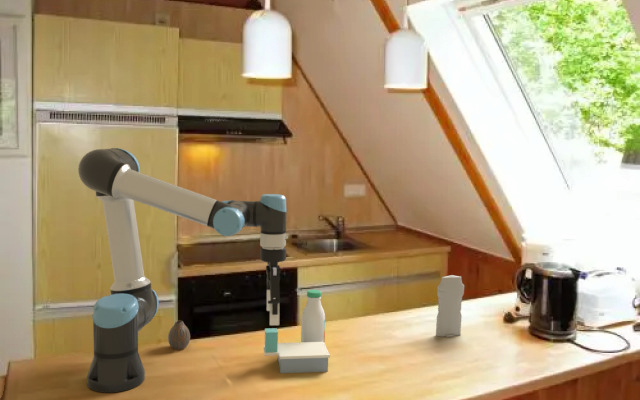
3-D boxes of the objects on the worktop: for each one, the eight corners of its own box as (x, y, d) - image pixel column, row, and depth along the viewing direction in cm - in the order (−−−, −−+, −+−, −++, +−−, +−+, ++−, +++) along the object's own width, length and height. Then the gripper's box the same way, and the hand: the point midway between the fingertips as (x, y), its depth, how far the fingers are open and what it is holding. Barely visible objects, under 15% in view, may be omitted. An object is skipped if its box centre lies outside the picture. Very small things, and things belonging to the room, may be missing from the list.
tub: (280, 375, 166) (281, 358, 165) (277, 361, 176) (278, 345, 175) (327, 373, 168) (328, 357, 167) (322, 360, 178) (322, 344, 177)
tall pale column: (458, 332, 207) (462, 273, 205) (464, 336, 204) (467, 276, 201) (432, 334, 205) (435, 274, 202) (437, 338, 201) (440, 277, 198)
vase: (190, 343, 188) (190, 317, 187) (189, 351, 182) (190, 324, 181) (168, 344, 187) (168, 318, 186) (167, 352, 180) (167, 325, 179)
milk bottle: (321, 356, 181) (323, 295, 179) (298, 353, 182) (299, 293, 180) (326, 347, 188) (328, 289, 186) (303, 345, 190) (305, 287, 188)
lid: (265, 359, 164) (265, 336, 163) (263, 345, 175) (263, 324, 174) (329, 357, 167) (330, 335, 166) (323, 344, 178) (324, 323, 177)
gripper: (290, 255, 154) (289, 331, 157) (282, 239, 179) (281, 304, 181) (262, 256, 153) (262, 332, 156) (258, 239, 178) (258, 305, 180)
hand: (272, 317), depth 168 cm, fingers open, 13 cm apart
